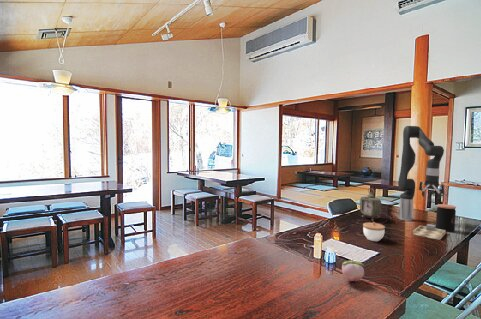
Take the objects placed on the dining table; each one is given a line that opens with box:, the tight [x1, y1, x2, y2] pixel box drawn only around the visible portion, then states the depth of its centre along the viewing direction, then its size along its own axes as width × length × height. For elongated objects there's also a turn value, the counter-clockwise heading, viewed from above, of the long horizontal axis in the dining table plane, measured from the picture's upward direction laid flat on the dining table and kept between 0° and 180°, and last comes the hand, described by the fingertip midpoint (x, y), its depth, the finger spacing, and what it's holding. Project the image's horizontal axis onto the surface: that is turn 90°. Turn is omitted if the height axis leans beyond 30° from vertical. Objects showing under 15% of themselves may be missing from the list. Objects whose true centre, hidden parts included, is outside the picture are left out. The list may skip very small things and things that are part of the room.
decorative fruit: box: [341, 259, 365, 282], centre depth 121 cm, size 9×8×10 cm
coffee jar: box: [435, 203, 457, 233], centre depth 194 cm, size 11×11×18 cm
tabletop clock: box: [359, 188, 382, 222], centre depth 222 cm, size 14×9×25 cm, turn 17°
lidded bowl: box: [362, 221, 386, 242], centre depth 175 cm, size 13×13×11 cm
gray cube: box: [426, 223, 436, 232], centre depth 188 cm, size 4×4×5 cm
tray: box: [412, 225, 447, 241], centre depth 185 cm, size 15×18×3 cm
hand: (430, 197), depth 191 cm, fingers open, 8 cm apart
